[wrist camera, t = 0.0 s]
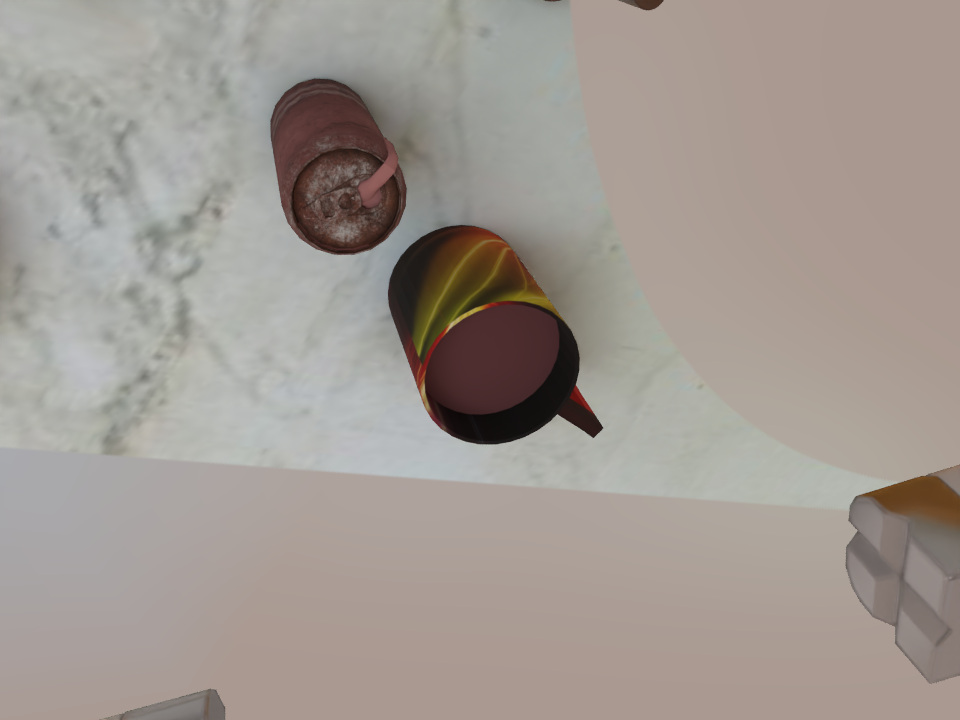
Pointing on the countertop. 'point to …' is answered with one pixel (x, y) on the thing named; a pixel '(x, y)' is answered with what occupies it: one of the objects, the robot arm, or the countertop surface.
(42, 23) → the countertop surface
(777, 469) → the countertop surface
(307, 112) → the can
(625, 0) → the disc-capped wooden dowel
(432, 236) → the mug
